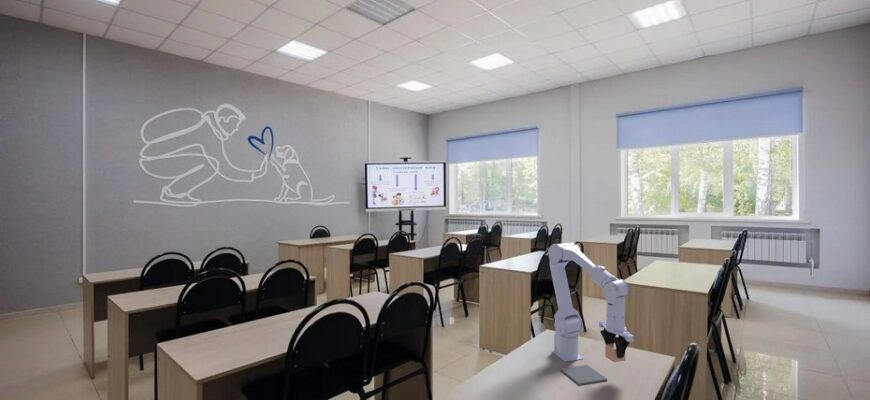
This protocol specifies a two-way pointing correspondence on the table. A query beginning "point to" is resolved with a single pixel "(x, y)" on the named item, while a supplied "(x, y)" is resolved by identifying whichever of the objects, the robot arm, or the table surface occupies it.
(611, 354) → the cube
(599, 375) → the mat
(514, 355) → the table surface
